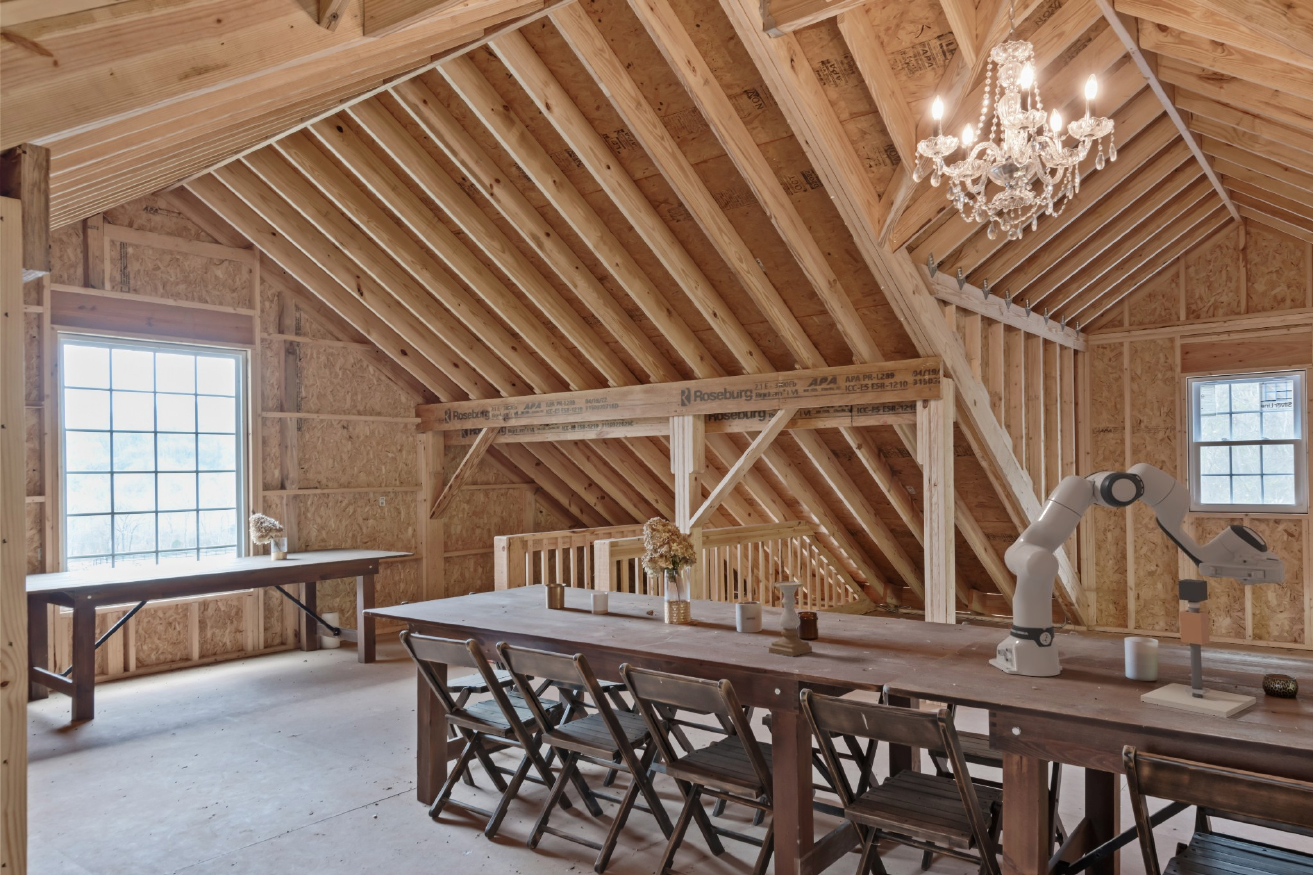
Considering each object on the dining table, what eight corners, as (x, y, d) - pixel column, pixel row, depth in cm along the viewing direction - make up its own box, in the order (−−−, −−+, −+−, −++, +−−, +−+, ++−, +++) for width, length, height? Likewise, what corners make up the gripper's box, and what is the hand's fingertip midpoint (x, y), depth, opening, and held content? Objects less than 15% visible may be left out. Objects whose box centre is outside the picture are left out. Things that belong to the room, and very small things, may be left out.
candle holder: (793, 657, 286) (791, 586, 287) (768, 652, 294) (766, 583, 295) (812, 651, 294) (810, 582, 294) (787, 647, 302) (786, 580, 302)
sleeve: (1180, 641, 225) (1179, 611, 225) (1188, 639, 228) (1187, 609, 228) (1201, 644, 221) (1200, 613, 221) (1209, 641, 224) (1208, 611, 224)
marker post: (1140, 701, 226) (1135, 580, 227) (1172, 688, 238) (1168, 573, 239) (1226, 717, 210) (1220, 588, 211) (1255, 703, 222) (1250, 580, 223)
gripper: (1208, 555, 253) (1189, 559, 245) (1290, 560, 237) (1272, 565, 228) (1209, 576, 253) (1190, 581, 245) (1291, 583, 237) (1274, 588, 228)
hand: (1230, 573), depth 236 cm, fingers open, 8 cm apart
